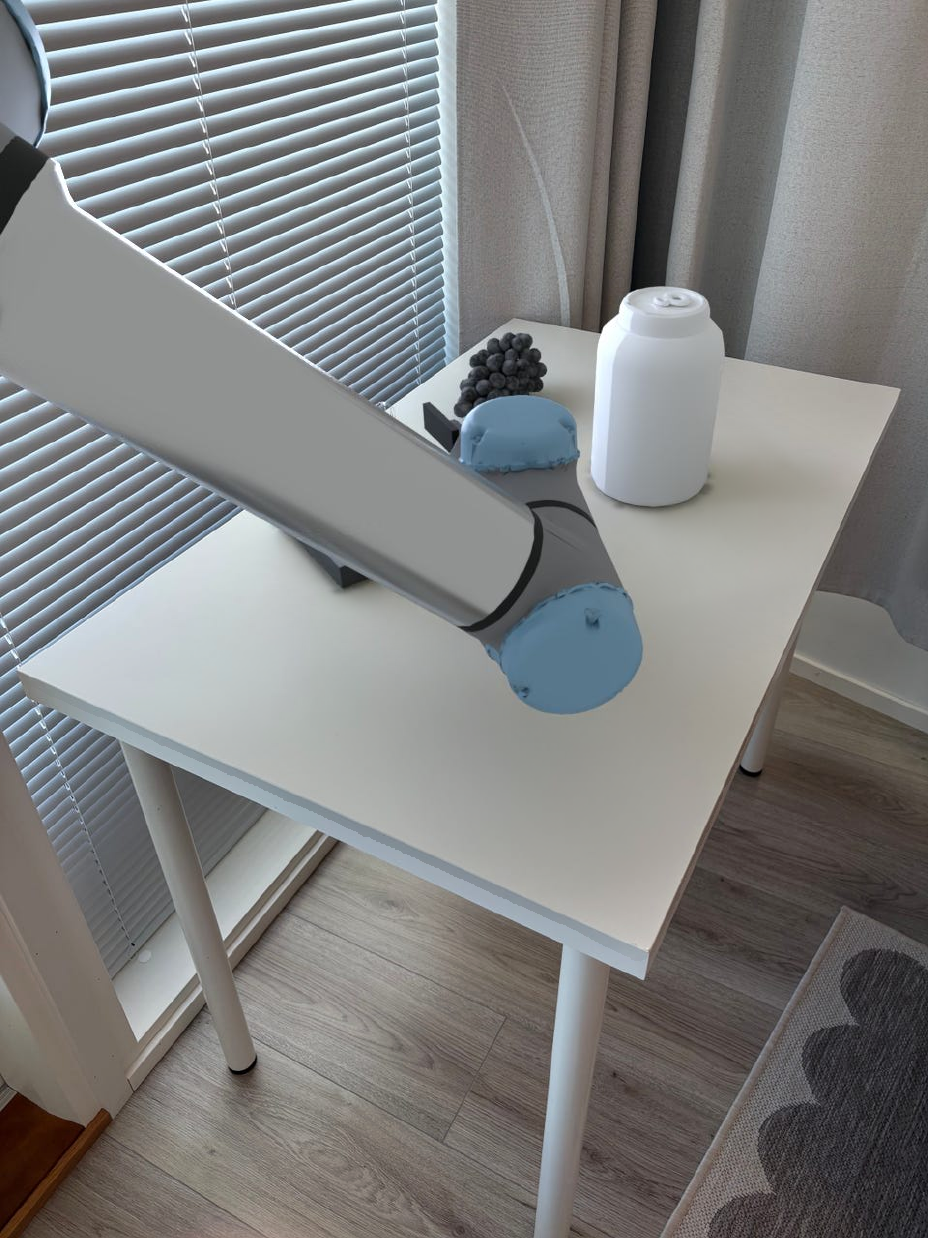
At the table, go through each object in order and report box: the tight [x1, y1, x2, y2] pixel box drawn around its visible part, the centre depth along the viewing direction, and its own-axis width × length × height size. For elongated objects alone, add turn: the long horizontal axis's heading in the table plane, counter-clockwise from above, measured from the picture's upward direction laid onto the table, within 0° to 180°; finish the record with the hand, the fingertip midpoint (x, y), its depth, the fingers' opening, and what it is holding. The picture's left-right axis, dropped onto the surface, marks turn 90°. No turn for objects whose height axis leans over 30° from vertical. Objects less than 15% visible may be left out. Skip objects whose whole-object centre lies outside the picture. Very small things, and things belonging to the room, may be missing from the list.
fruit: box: [453, 331, 548, 419], centre depth 116 cm, size 9×8×15 cm
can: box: [590, 285, 726, 508], centre depth 97 cm, size 12×12×20 cm
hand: (362, 431), depth 91 cm, fingers open, 13 cm apart
